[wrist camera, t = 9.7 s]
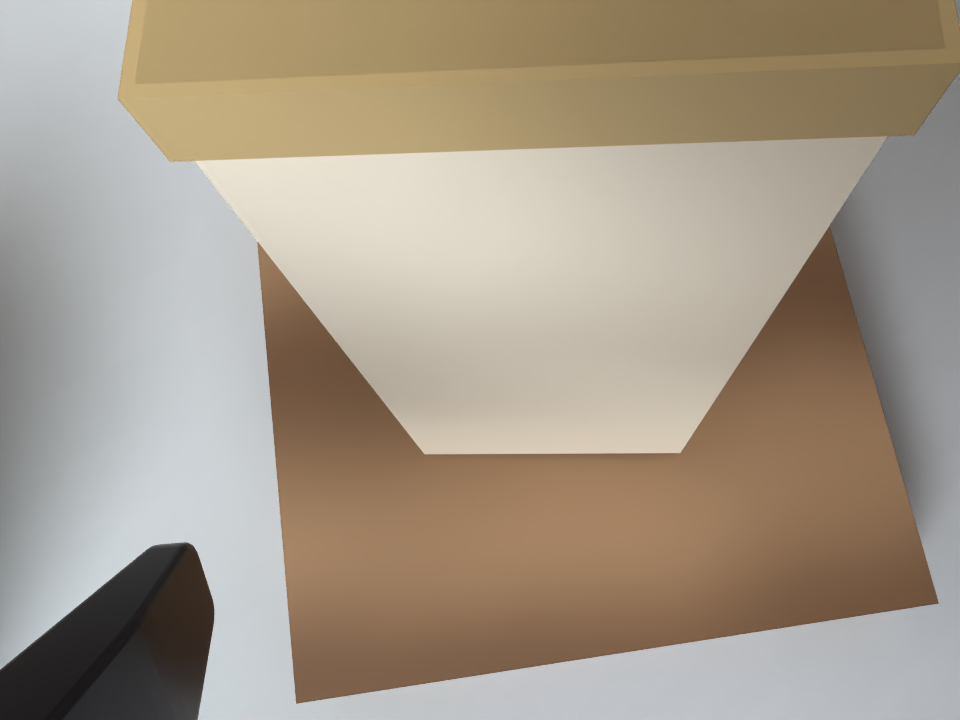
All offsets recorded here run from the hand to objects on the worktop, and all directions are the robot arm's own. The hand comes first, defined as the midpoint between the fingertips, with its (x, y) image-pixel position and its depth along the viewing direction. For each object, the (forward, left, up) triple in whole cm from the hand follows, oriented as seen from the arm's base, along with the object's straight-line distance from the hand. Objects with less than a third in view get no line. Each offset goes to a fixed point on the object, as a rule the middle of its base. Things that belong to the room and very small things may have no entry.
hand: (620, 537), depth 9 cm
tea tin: (+5, 0, -8) cm, 9 cm away
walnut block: (+5, 0, -11) cm, 12 cm away
